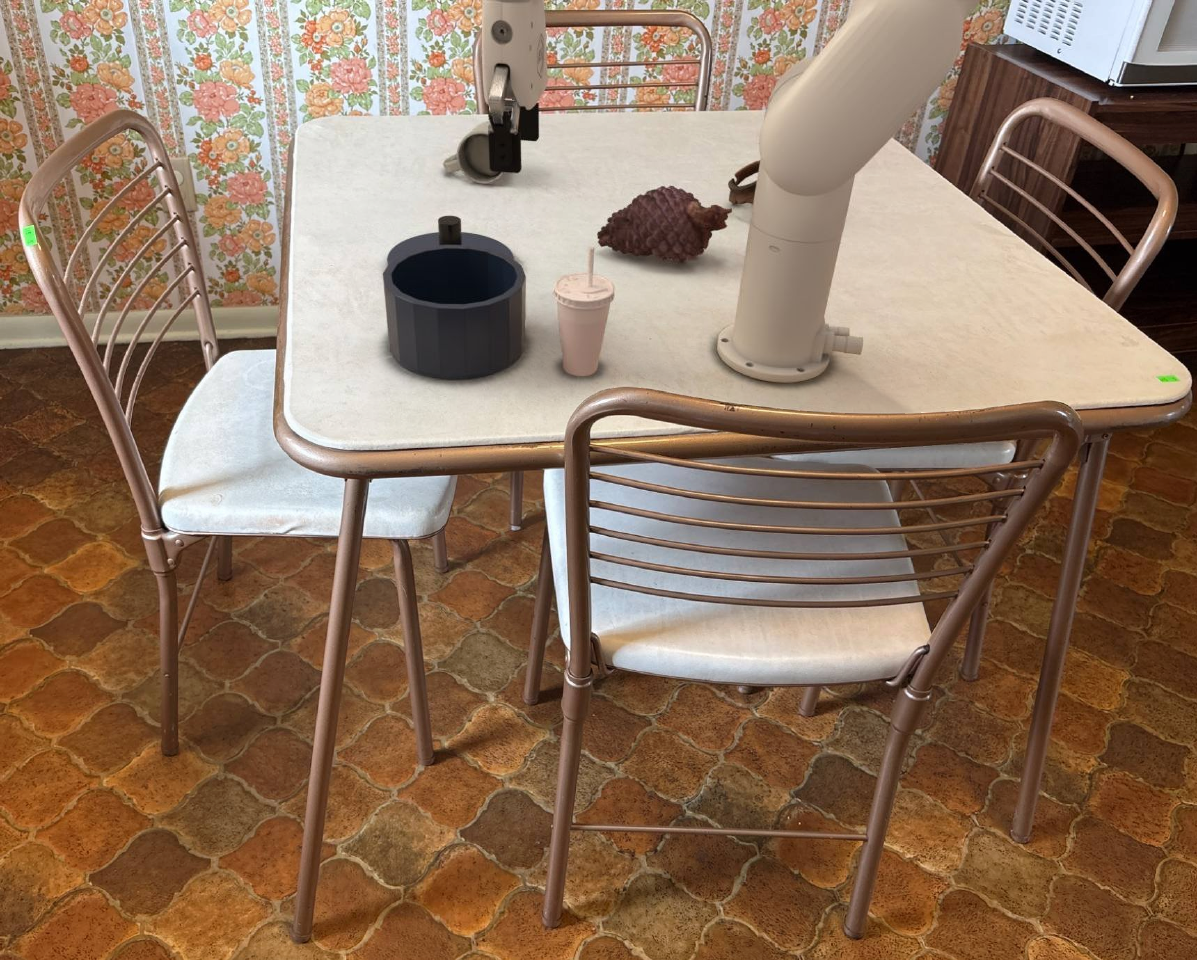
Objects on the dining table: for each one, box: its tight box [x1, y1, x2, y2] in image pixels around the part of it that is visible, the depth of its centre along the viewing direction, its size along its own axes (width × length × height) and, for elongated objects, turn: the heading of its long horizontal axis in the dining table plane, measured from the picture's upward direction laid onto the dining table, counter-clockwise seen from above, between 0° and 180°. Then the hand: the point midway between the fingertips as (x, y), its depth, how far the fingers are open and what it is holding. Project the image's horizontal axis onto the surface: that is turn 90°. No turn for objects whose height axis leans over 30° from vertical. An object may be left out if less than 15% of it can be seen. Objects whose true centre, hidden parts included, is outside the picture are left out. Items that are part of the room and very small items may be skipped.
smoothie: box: [552, 246, 616, 377], centre depth 103 cm, size 6×6×14 cm
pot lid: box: [386, 215, 515, 265], centre depth 123 cm, size 16×16×6 cm
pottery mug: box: [727, 159, 760, 206], centre depth 143 cm, size 12×10×8 cm
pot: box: [382, 245, 527, 381], centre depth 107 cm, size 15×15×8 cm
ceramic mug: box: [442, 120, 506, 185], centre depth 147 cm, size 11×8×8 cm
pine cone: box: [596, 185, 733, 264], centre depth 128 cm, size 18×10×10 cm
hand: (515, 155), depth 105 cm, fingers open, 9 cm apart
